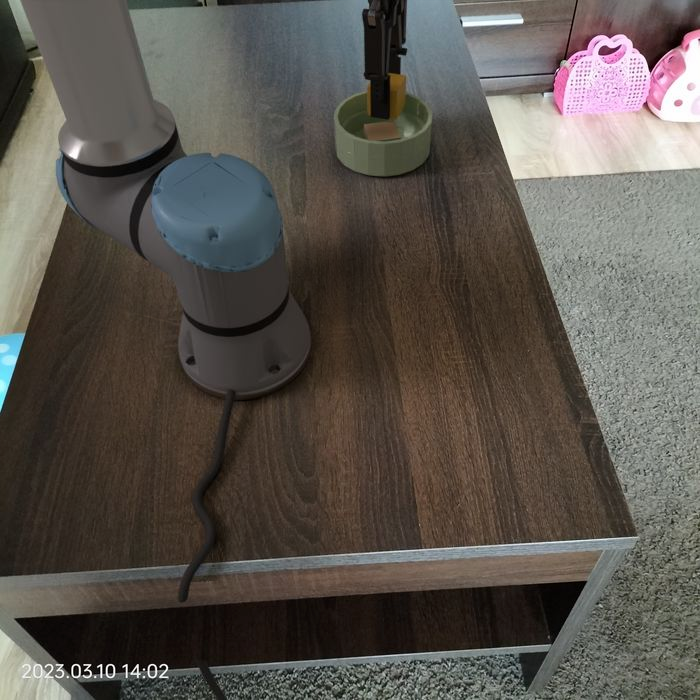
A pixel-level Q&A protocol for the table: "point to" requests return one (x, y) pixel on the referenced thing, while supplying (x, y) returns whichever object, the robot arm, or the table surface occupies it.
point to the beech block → (381, 131)
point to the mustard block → (393, 95)
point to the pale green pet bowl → (382, 154)
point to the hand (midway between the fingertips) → (385, 107)
